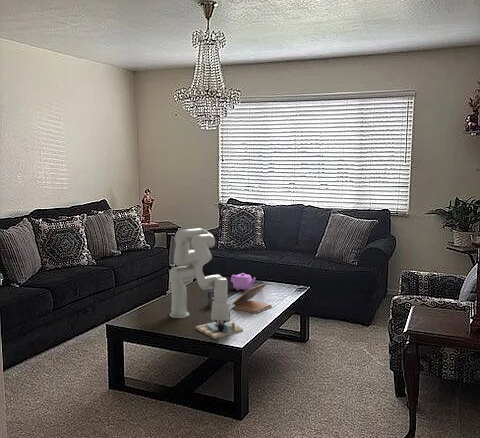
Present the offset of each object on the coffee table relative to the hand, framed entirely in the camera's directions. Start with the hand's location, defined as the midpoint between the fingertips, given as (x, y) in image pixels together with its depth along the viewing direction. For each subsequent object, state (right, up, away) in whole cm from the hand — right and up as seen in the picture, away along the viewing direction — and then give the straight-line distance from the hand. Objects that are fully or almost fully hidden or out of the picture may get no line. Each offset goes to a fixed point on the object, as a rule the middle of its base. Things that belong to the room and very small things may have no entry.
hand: (220, 331), depth 290 cm
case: (+19, +3, +55) cm, 58 cm away
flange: (0, 0, +7) cm, 7 cm away
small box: (-5, +4, +59) cm, 59 cm away
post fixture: (-1, -2, +10) cm, 10 cm away
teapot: (+13, +9, +101) cm, 102 cm away
